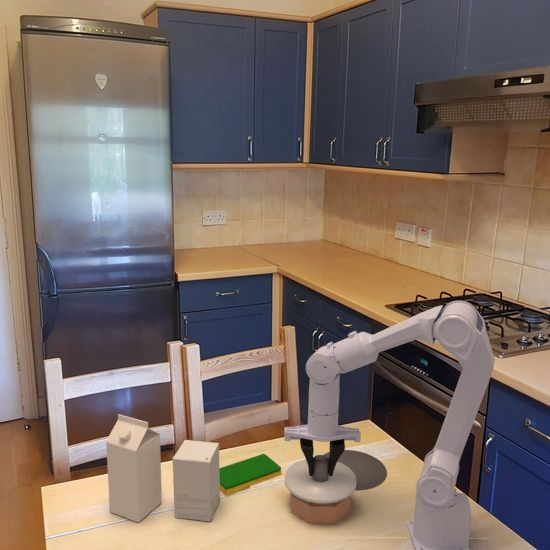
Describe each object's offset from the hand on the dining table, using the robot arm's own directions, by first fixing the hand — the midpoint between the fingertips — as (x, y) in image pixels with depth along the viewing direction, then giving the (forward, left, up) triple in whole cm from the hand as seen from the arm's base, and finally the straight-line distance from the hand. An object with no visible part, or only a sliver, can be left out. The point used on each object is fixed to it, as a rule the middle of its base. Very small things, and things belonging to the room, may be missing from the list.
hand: (320, 473), depth 108 cm
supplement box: (+24, +1, -8) cm, 25 cm away
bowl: (0, 0, -7) cm, 7 cm away
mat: (-8, -13, -7) cm, 17 cm away
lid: (0, 0, -2) cm, 2 cm away
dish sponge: (+15, -10, -8) cm, 20 cm away
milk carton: (+36, +1, -8) cm, 37 cm away
